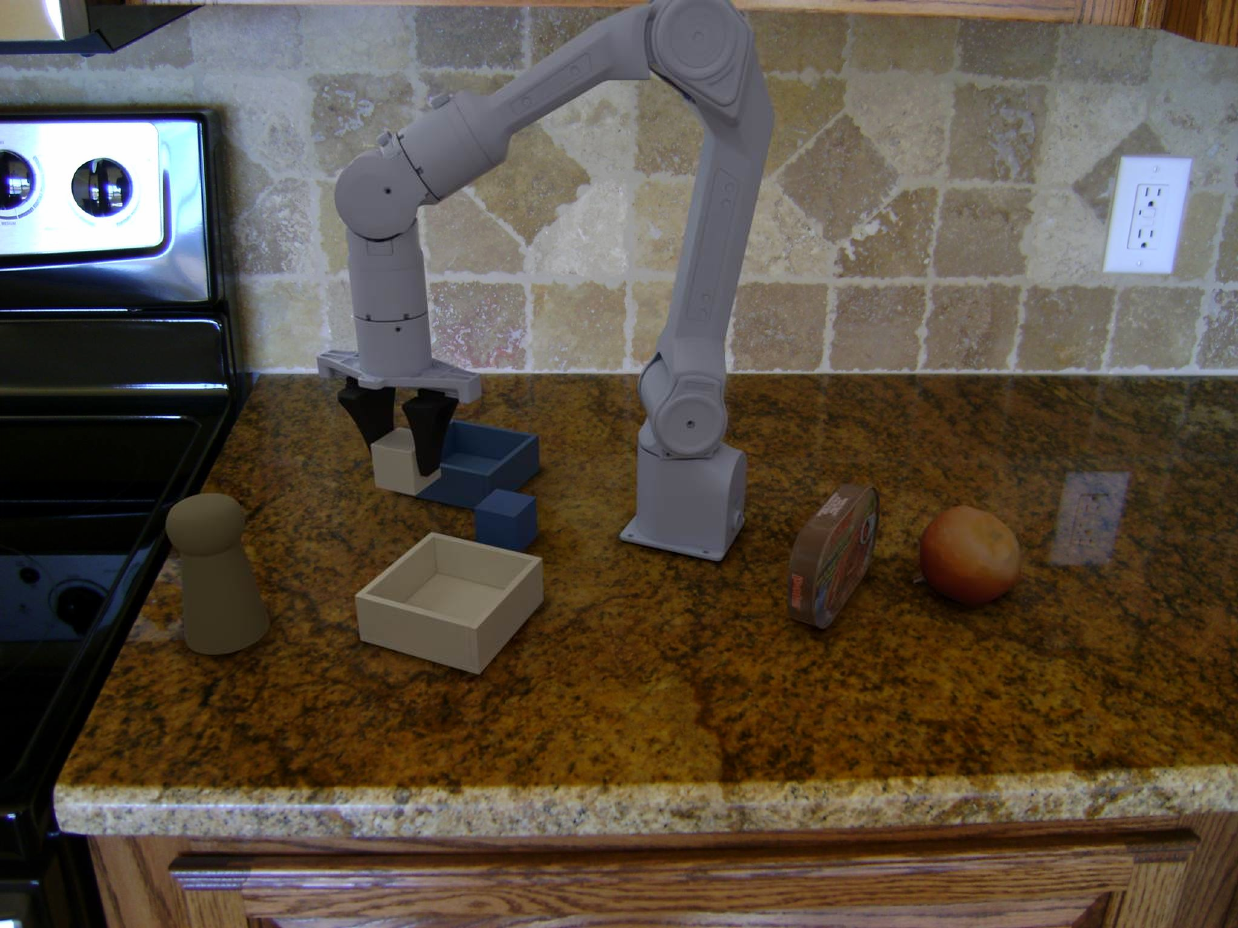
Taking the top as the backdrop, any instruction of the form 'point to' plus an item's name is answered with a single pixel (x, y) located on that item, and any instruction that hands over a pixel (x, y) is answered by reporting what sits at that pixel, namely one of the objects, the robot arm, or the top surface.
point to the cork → (216, 575)
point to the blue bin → (482, 463)
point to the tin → (832, 554)
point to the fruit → (969, 556)
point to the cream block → (399, 464)
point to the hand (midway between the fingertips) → (407, 466)
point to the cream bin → (451, 601)
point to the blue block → (506, 520)
